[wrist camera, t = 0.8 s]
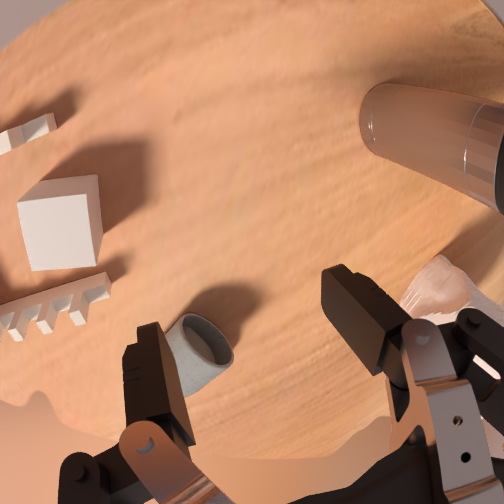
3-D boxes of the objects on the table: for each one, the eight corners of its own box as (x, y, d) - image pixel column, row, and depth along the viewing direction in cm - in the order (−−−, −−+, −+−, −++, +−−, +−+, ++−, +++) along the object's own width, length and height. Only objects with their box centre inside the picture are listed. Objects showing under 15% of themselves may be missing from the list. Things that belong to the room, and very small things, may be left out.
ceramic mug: (139, 347, 35) (145, 397, 28) (175, 302, 33) (187, 352, 27) (205, 370, 41) (219, 414, 34) (242, 333, 39) (263, 377, 33)
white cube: (39, 180, 22) (16, 202, 17) (98, 173, 24) (86, 193, 19) (48, 239, 25) (31, 271, 20) (103, 234, 27) (96, 266, 22)
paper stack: (433, 230, 43) (554, 323, 21) (468, 281, 57) (544, 347, 35) (355, 332, 48) (448, 449, 27) (413, 352, 62) (478, 427, 41)
